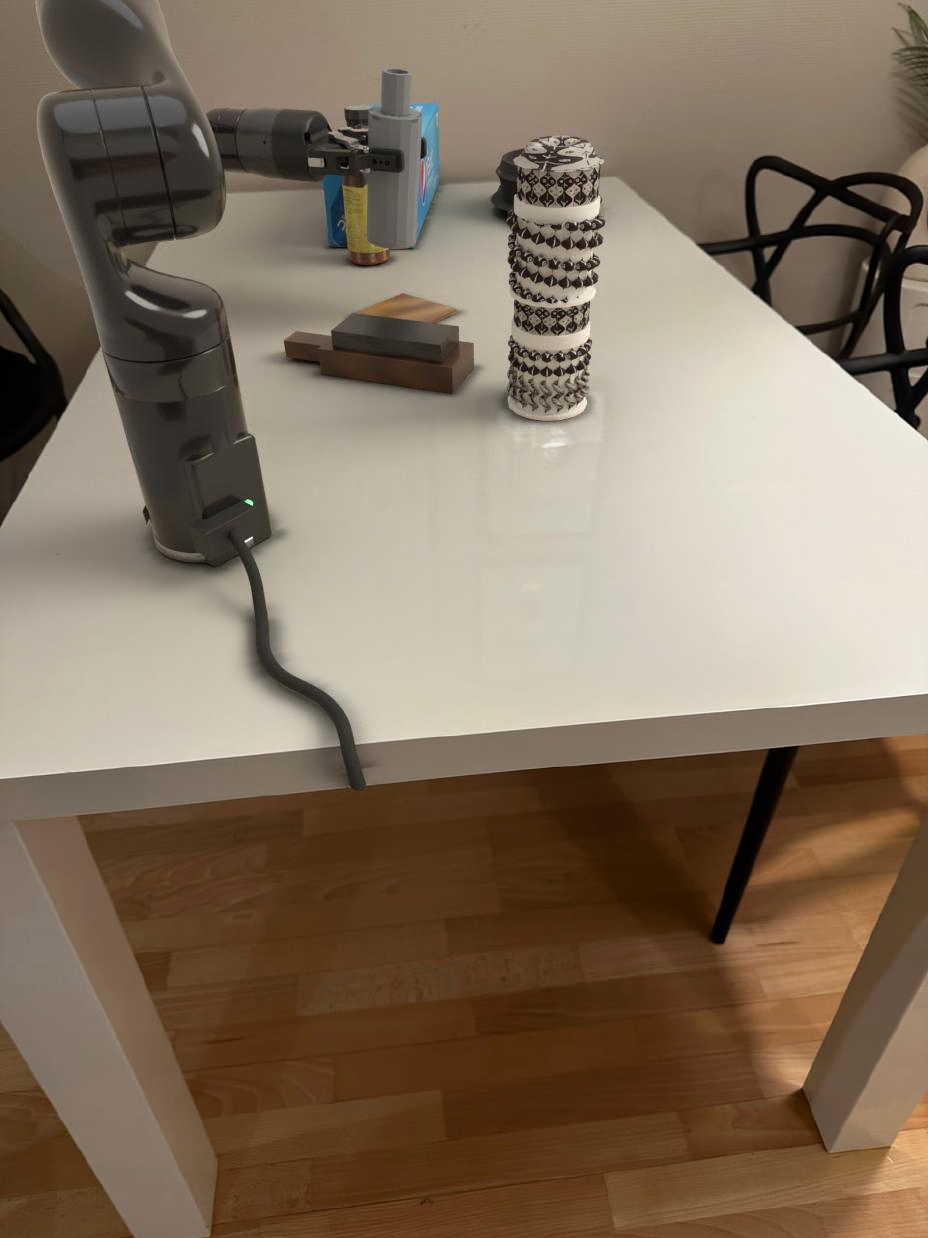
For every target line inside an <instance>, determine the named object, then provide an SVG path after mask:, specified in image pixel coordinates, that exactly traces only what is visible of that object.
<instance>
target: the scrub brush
mask: <svg viewBox="0 0 928 1238" xmlns="http://www.w3.org/2000/svg"><path fill="white" fill-rule="evenodd" d="M330 334H331V335H330ZM330 334H329V335H328V334H321V333H313V332H306V331H300V330H295V331H294V332H293V333H290V335H289V336H288V337H286V338H285V339H284V340H283V346H284V353H285V358H291V359H298V360H305V361H312V362H319V368H320V369H319V371H320V374H321V375H325V376H329V377H330V376H331V377H339V378H345V379H352V380H358V381H359V380H360V381H365V382H372V383H379V384H385V385H392V386H399V387H405V388H412V389H418V390H425V391H431V392H432V391H433V392H439V393H446V394H454V393H455V391H456V390H457V389H458V388H459V386H461V384H462V383H463V382H464V381H465V380H466V378H467V377H468V376H469V375H470V373H471V372H473V370H474V369H475V343H474V342H469V341H462V340H460V326H459V325H454V324H446V323H445V324H444V323H438V322H435V323H430V322H422V321H414V320H406V319H398V318H390V317H382V316H374V315H366V314H358V313H356V312H352V313H351V314H349V315H348V316H347V317H346V318H344V319H343V320H342V321H341V322H340V323H338V324H337V325H335V327H333V328H332V329H331V330H330Z"/></svg>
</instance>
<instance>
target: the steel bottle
mask: <svg viewBox="0 0 928 1238" xmlns="http://www.w3.org/2000/svg"><path fill="white" fill-rule="evenodd" d="M412 82H413V72H412V71H411V70H408V69H405V68H399V67H386V68H385V67H384V68H383V69H381V89H380V90H381V91H380V93H381V94H380V95H381V96H380V104H381V106H375V107H372V108H370V109H369V117H368V147H370V151H371V149H372V148H382V149H395V150H402V151H403V153H404V162H405V169H404V170H403V171H402V172H400V173H395V172H383V171H373V170H372V172H369V173H368V184H367V240H368V242H369V243H371V244H373V245H375V246H378V247H382V248H387V249H390V250H403V249H410V248H409V247H412V246H413V245H415V246H416V244H417V241H416V233H417V213H418V194H419V174H420V154H421V135H422V113H421V112H419V111H418V110H415V109H412V108H411V104H412V84H413V83H412ZM415 243H416V244H415Z"/></svg>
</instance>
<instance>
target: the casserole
mask: <svg viewBox="0 0 928 1238" xmlns="http://www.w3.org/2000/svg"><path fill="white" fill-rule="evenodd" d="M524 148H525V147H524ZM524 148H518V149H514V150H511V151H508V152H506V153H504V154H503V155H502V157H501V160H500V163H499V165H498V166H497V167H496V169H495V174H496V176H497V177H498V179H499V186H498V188H497V191H496V192H494V193H493V194H492V195H491V197H490V203H491V204H492V205H493V206H495V207H496V208H498V209H500V210H502V211H504V212H505V211H506V212H507V213H508V212H509V211H510V210H512V209H513V208H514V195H515V194H516V191H517V170H518V168H517V165H516V164H515V163H514V161H513V160H514V159H515V158H516V157H517V156H519V155H521V154H522V152H523V150H524ZM598 195H599V196H600V205H601V204H602V202H603V197H602V196H601V195H600V194H598Z"/></svg>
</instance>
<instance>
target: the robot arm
mask: <svg viewBox="0 0 928 1238" xmlns="http://www.w3.org/2000/svg"><path fill="white" fill-rule="evenodd" d="M33 1H34V8H35V11H36V16H37V20H38V21H37V22H38V26H39V30H40V35H41V39H42V41H43V45H44V47H45V50H46V53H47V54H48V56H49V58H50V60H51V61H52V63H53V64H54V66H55V67H56V69H57V70H58V71H59V72H60V73H61V75H62V76H63V77H64V78H65V79H66V80H67V81H68V82H69V83H70V84H71V85H72V86H74V88H75V89H66V90H59V91H53V92H49V93H47V94H45V95H44V96H43V97H42V98H41V99H40V100H39V103H38V106H37V110H36V130H37V137H38V138H37V139H38V143H39V148H40V151H41V157H42V161H43V164H44V166H45V170H46V173H47V177H48V180H49V183H50V186H51V189H52V192H53V195H54V198H55V201H56V204H57V207H58V210H59V212H60V215H61V218H62V222H63V224H64V227H65V230H66V232H67V235H68V238H69V241H70V244H71V247H72V250H73V253H74V256H75V260H76V262H77V266H78V268H79V269H78V270H79V271H80V275H81V278H82V282H83V286H84V288H85V293H86V295H87V299H88V302H89V303H88V304H89V308H90V311H91V315H92V318H93V322H94V326H95V330H96V334H97V337H98V338H97V339H98V342H99V346H100V348H101V352H102V353H101V354H102V357H103V360H104V364H105V367H106V370H107V374H108V377H109V381H110V384H111V388H112V392H113V396H114V400H115V402H116V406H117V410H118V413H119V416H120V420H121V425H122V429H123V431H124V435H125V438H126V442H127V445H128V449H129V453H130V456H131V460H132V463H133V467H134V470H135V473H136V477H137V480H138V481H137V482H138V484H139V488H140V492H141V495H142V498H143V502H144V507H143V509H142V514H143V518H144V522H145V523H146V525H148V523H149V522H150V525H151V533H152V538H153V541H154V544H155V547H156V549H157V550H158V551H159V552H160V553H162V554H163V555H164V556H166V557H168V558H170V559H172V560H176V561H180V562H183V563H206V564H209V565H211V566H212V567H219V566H221V565H222V564H224V563H226V562H228V561H229V560H231V559H233V558H234V557H236V556H238V557H239V559H240V561H241V563H242V564H243V566H244V567H243V568H244V569H245V572H246V575H247V578H248V582H249V586H250V591H251V599H252V606H253V611H254V621H255V645H256V651H257V655H258V658H259V661H260V663H261V665H262V666H263V668H264V669H265V671H266V672H267V673H268V674H269V676H270V677H272V679H274V680H275V681H276V682H278V683H279V684H281V685H282V686H284V687H286V688H288V689H289V690H292V691H293V692H295V693H296V694H297V693H298V695H299V694H300V695H301V696H303V697H305V698H307V699H309V700H311V701H313V702H314V703H315V704H317V705H318V706H319V707H320V708H321V709H323V711H324V712H325V713H326V714H327V715H328V717H329V718H330V720H331V721H332V722H333V725H334V727H335V730H336V733H337V736H338V742H339V746H340V750H341V756H342V759H343V763H344V767H345V771H346V774H347V778H348V781H349V784H350V787H351V789H352V790H354V791H355V792H362V791H363V790H365V789H366V786H367V782H366V778H365V776H364V772H363V769H362V765H361V762H360V758H359V753H358V750H357V746H356V742H355V737H354V733H353V729H352V726H351V722H350V720H349V718H348V716H347V714H346V713H345V711H344V710H343V708H342V707H341V705H340V704H339V703H338V702H337V701H336V700H335V699H334V698H333V697H332V696H331V695H329V694H328V693H327V692H325V691H324V690H322V689H321V688H319V687H317V686H315V685H313V683H310V682H308V681H306V680H303V679H301V678H300V677H297V676H295V675H293V674H292V673H290V672H289V671H288V670H286V669H285V668H284V667H283V666H282V665H281V664H280V663H279V662H278V661H277V659H276V658H275V656H274V654H273V652H272V649H271V646H270V624H269V622H270V621H269V616H268V609H267V603H266V596H265V590H264V584H263V580H262V576H261V573H260V570H259V567H258V564H257V562H256V560H255V557H254V555H253V553H252V552H251V550H250V549H251V548H252V547H254V546H256V545H257V544H260V543H261V542H263V541H264V540H266V539H268V538H270V537H272V535H273V529H272V523H271V517H270V512H269V511H270V510H269V507H268V506H269V505H268V501H267V495H266V490H265V485H264V478H263V473H262V472H263V471H262V467H261V462H260V457H259V451H258V445H257V440H256V437H255V436H254V434H252V433H249V430H248V424H247V419H246V413H245V408H244V403H243V398H242V397H243V396H242V392H241V388H240V387H241V385H240V381H239V374H238V369H237V364H236V359H235V354H234V353H235V352H234V348H233V342H232V336H231V332H230V327H229V326H230V325H229V320H228V315H227V310H226V307H225V303H224V299H223V298H222V296H221V294H220V293H219V292H218V291H217V290H216V289H214V288H213V287H212V286H210V285H208V284H206V283H204V282H202V281H198V280H195V279H193V278H191V279H190V278H187V277H182V276H179V275H178V276H177V275H173V274H169V273H165V272H162V271H158V270H155V269H153V268H150V267H148V266H146V265H144V264H142V263H140V262H138V261H136V260H134V259H133V258H131V257H130V256H129V255H127V254H126V253H125V252H124V250H123V248H125V247H129V246H139V245H140V246H141V245H147V244H156V243H164V242H170V241H171V242H172V241H173V242H174V241H175V240H176V241H178V240H181V241H182V240H187V239H193V238H197V237H200V236H202V235H205V234H208V233H210V232H212V231H213V230H215V229H216V228H217V227H218V226H219V224H220V223H221V221H222V220H223V216H224V213H225V210H226V205H227V184H226V182H227V181H226V174H225V172H226V173H235V174H236V173H237V174H246V175H248V174H249V175H255V176H260V177H263V178H267V179H276V180H285V181H286V180H287V181H296V182H307V183H308V182H309V183H320V182H323V179H324V178H325V177H326V176H327V175H342V176H353V177H356V176H358V175H360V172H364V173H369V172H372V170H373V171H383V172H395V173H400V172H402V171H403V170H404V169H405V162H404V153H403V151H402V150H395V149H382V148H372V149H371V151H370V147H368V126H362V125H357V126H355V129H352V128H351V127H347V126H339V127H337V131H333V130H332V127H331V126H330V124H329V122H328V119H327V118H326V116H325V115H324V114H323V113H322V112H320V111H318V110H311V109H310V110H309V109H296V108H295V109H294V108H283V107H281V108H280V107H258V108H243V107H232V106H231V107H229V106H216V107H212V108H210V109H208V110H207V111H205V109H204V107H203V105H202V103H201V101H200V99H199V97H198V95H197V93H196V91H195V90H194V87H193V86H192V84H191V82H190V80H189V79H188V76H187V75H186V73H185V71H184V69H183V68H182V65H181V63H180V61H179V60H178V58H177V55H176V51H175V48H174V46H173V43H172V40H171V36H170V32H169V29H168V26H167V22H166V19H165V17H164V12H163V10H162V7H161V4H160V2H159V0H33ZM426 156H427V142H426V139H425V138H424V137H421V154H420V159H423V158H425V157H426Z"/></svg>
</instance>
